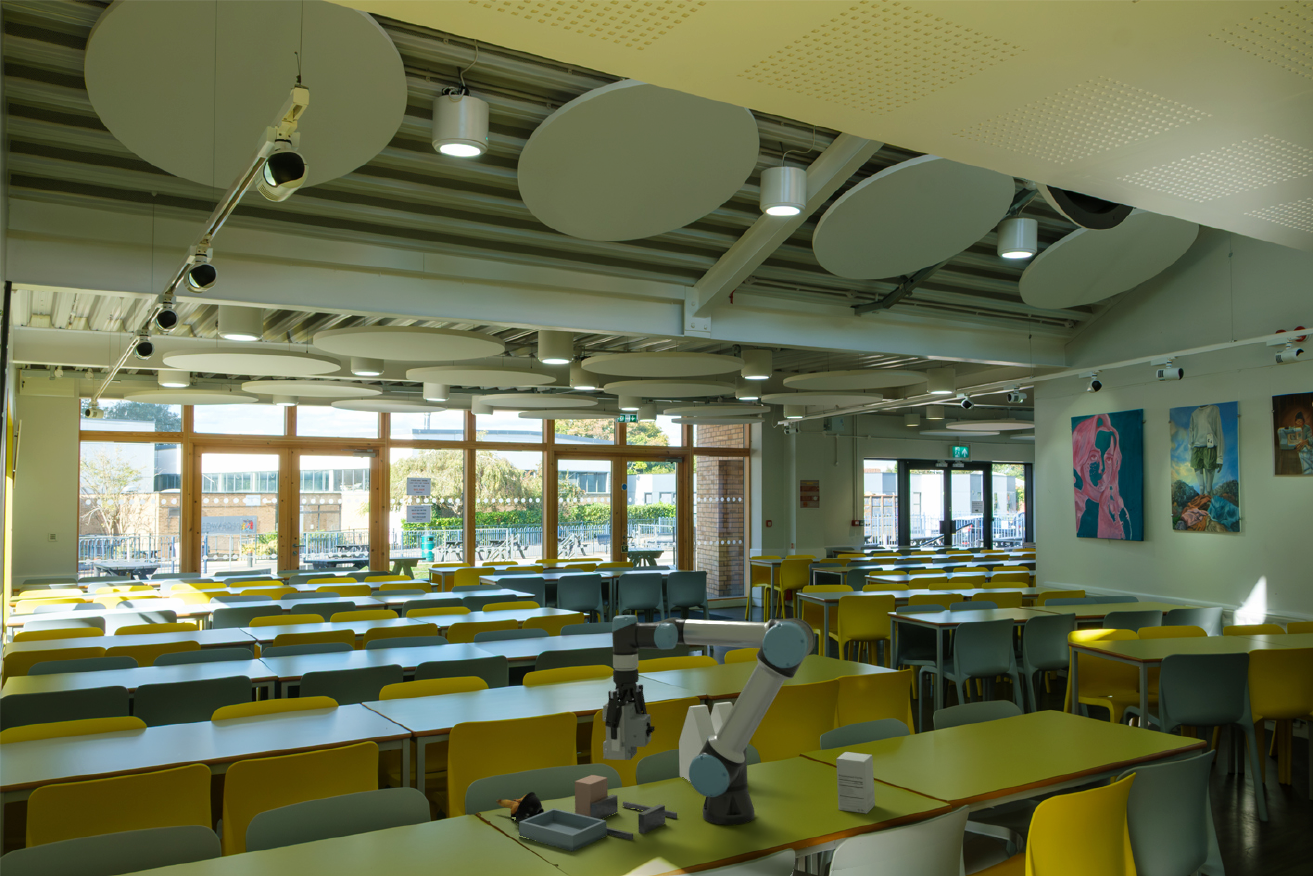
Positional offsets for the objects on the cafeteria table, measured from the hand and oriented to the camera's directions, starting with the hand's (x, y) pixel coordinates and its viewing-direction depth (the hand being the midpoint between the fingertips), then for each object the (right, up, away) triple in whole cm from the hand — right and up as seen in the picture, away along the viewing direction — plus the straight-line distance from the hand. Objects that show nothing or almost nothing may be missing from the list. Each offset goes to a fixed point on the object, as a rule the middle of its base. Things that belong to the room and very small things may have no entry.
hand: (627, 746), depth 248 cm
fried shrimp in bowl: (-32, -23, +3) cm, 39 cm away
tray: (-17, -20, -13) cm, 30 cm away
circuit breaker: (+1, -3, 0) cm, 3 cm away
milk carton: (+28, -26, +38) cm, 54 cm away
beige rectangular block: (-11, -22, +6) cm, 25 cm away
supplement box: (+69, -21, +7) cm, 72 cm away
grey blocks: (0, -21, -2) cm, 21 cm away
